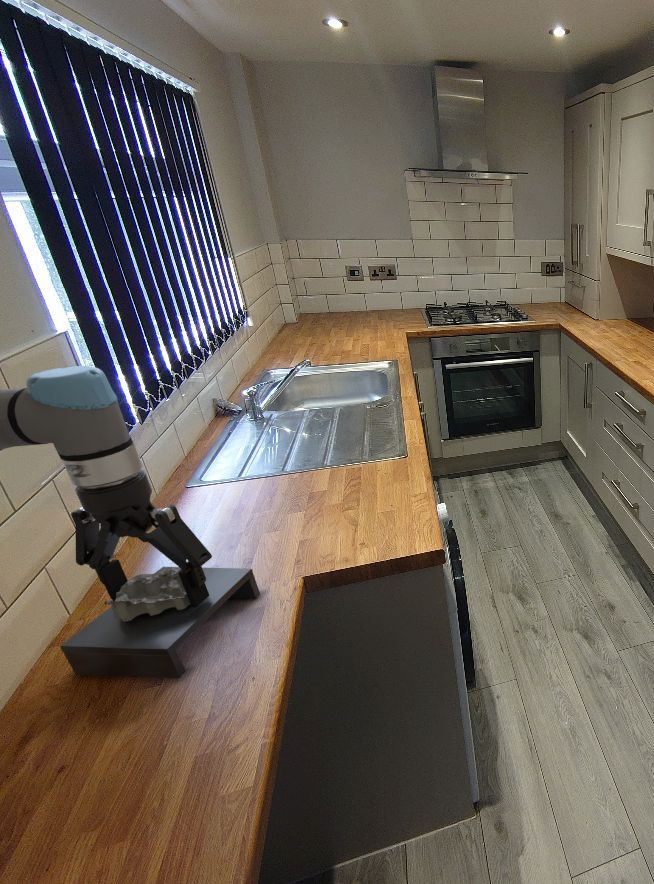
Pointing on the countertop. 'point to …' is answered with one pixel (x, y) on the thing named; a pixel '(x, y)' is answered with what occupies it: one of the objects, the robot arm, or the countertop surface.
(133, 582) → the egg carton
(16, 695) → the countertop surface
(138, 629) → the shelf
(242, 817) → the countertop surface
